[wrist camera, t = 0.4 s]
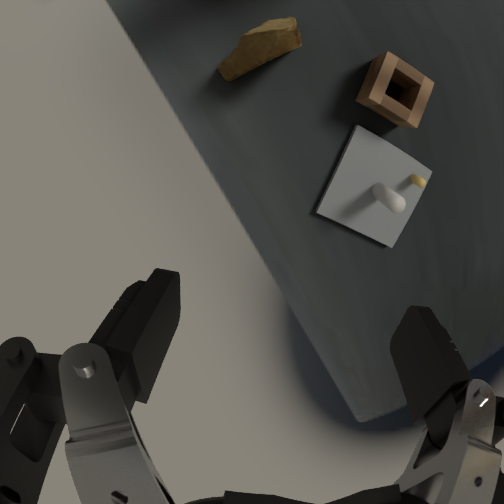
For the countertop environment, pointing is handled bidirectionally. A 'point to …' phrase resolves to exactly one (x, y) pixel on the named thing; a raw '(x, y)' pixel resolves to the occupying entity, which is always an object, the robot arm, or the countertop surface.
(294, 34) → the rock
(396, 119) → the wooden square frame
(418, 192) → the post board
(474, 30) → the countertop surface
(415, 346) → the robot arm
